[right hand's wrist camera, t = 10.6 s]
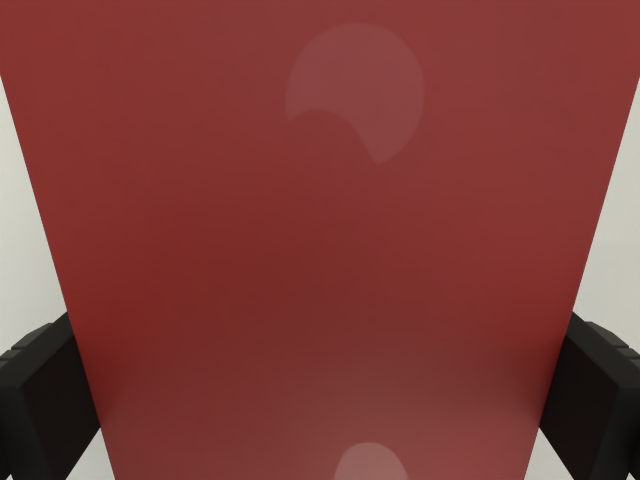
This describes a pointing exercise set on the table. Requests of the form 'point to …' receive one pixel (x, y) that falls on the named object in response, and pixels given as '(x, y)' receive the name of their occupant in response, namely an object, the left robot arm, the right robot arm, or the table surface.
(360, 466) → the cabinet
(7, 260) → the table surface
